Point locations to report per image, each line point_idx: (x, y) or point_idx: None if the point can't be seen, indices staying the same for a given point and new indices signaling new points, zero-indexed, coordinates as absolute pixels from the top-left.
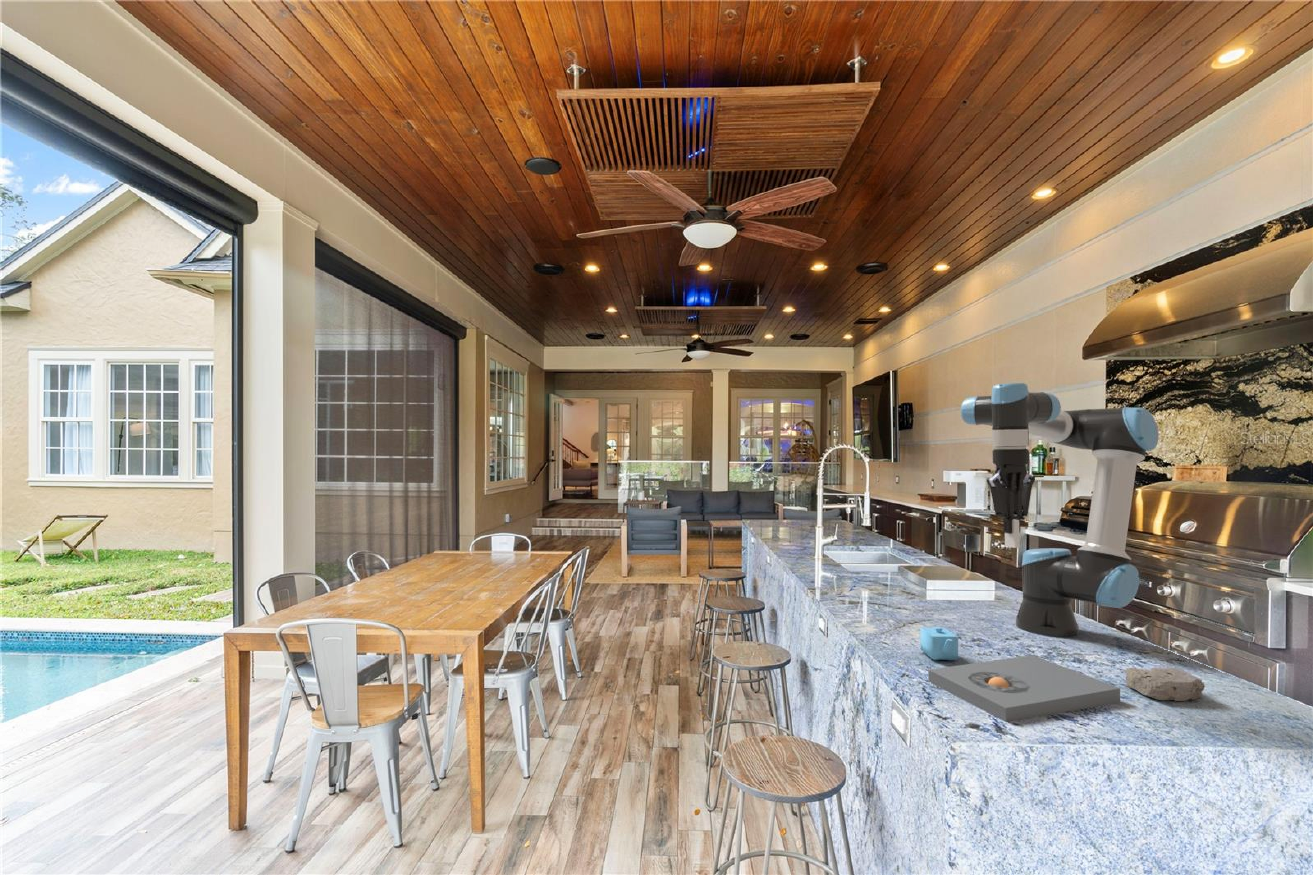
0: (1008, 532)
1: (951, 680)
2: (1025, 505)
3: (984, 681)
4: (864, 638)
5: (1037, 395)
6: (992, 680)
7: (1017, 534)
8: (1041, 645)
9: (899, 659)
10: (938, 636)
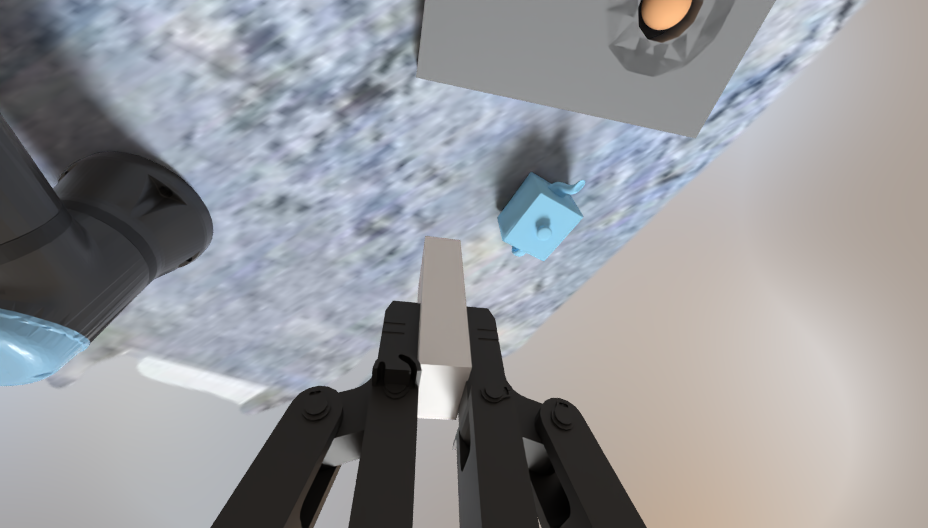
0: (490, 316)
1: (731, 72)
2: (290, 503)
3: (661, 40)
4: (546, 311)
5: None
6: (685, 11)
7: (440, 285)
8: (262, 149)
9: (597, 229)
10: (572, 212)
